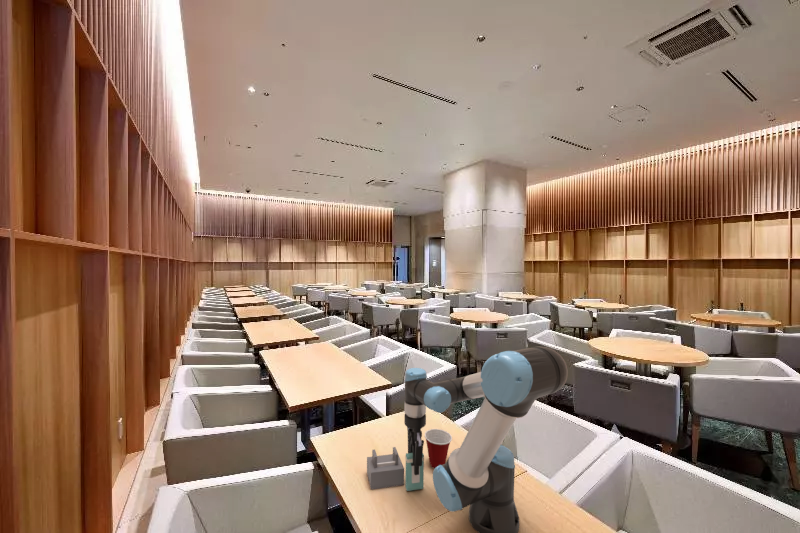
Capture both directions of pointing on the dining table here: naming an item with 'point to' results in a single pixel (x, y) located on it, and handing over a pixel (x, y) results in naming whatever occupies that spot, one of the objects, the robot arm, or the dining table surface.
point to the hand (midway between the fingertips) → (414, 479)
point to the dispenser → (385, 470)
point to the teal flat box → (408, 477)
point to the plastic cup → (437, 446)
